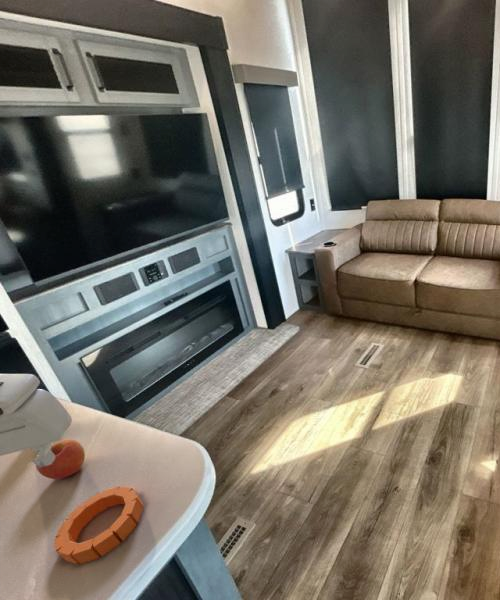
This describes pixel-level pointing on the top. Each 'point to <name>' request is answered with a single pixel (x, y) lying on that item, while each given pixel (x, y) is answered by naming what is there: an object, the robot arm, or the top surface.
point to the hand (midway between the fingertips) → (12, 472)
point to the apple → (64, 460)
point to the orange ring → (108, 538)
